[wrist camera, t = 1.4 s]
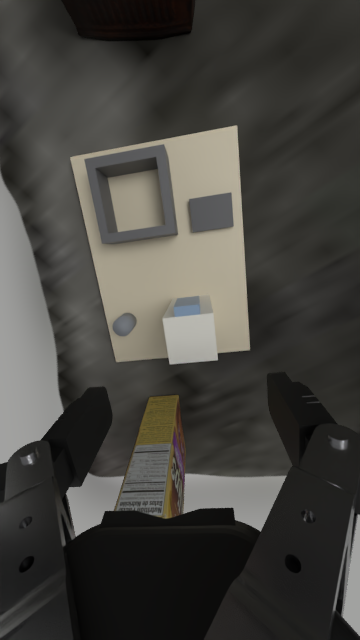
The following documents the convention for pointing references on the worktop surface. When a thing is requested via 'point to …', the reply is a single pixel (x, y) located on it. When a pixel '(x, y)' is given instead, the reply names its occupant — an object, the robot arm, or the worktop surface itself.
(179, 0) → the manual coffee grinder
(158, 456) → the candy box
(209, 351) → the plug
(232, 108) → the worktop surface
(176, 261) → the board
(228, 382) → the worktop surface
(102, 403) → the robot arm
